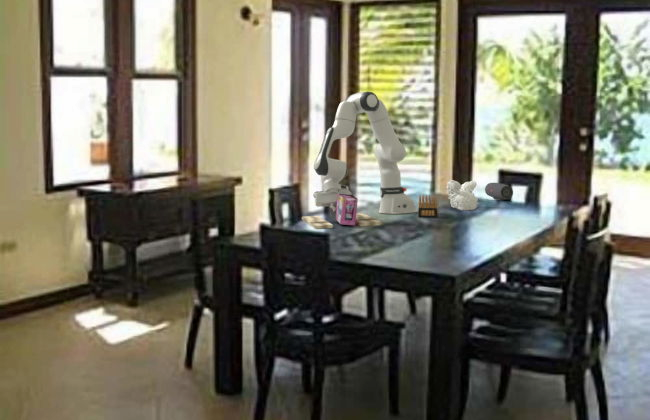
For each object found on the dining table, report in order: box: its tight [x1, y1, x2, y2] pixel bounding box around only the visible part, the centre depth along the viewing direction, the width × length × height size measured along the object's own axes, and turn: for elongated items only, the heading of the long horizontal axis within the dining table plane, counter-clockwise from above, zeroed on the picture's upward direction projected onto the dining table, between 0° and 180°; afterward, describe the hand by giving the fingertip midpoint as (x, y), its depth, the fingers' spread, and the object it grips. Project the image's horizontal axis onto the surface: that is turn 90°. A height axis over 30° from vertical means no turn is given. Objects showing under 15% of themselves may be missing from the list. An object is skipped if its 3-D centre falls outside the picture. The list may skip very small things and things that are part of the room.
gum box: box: [335, 194, 358, 226], centre depth 461 cm, size 24×8×14 cm, turn 6°
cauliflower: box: [446, 179, 479, 211], centre depth 508 cm, size 19×20×20 cm
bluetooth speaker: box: [484, 182, 514, 201], centre depth 547 cm, size 23×9×10 cm, turn 14°
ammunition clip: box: [417, 194, 439, 219], centre depth 475 cm, size 11×2×12 cm, turn 67°
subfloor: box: [301, 212, 383, 230], centre depth 468 cm, size 34×40×2 cm
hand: (336, 210), depth 472 cm, fingers closed
